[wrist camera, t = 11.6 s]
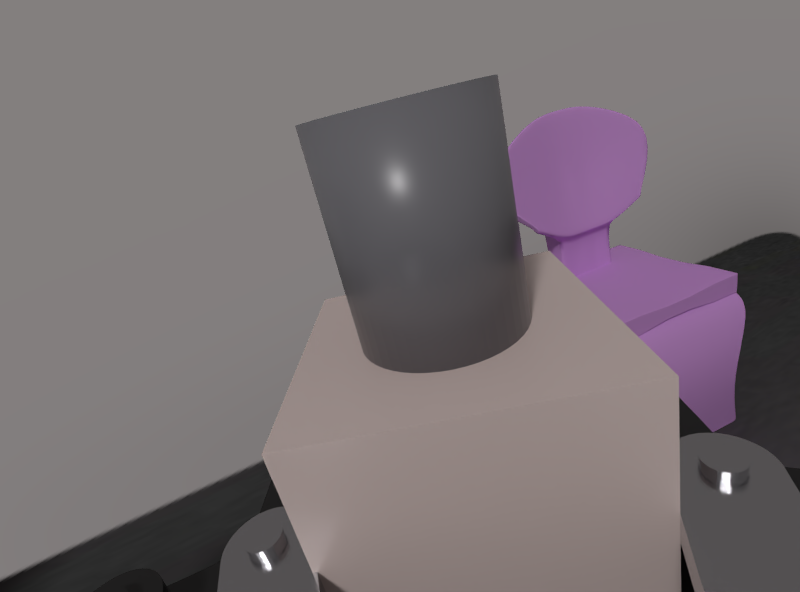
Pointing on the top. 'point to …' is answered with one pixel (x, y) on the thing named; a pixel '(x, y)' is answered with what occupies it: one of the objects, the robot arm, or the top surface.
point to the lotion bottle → (466, 380)
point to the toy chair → (628, 250)
